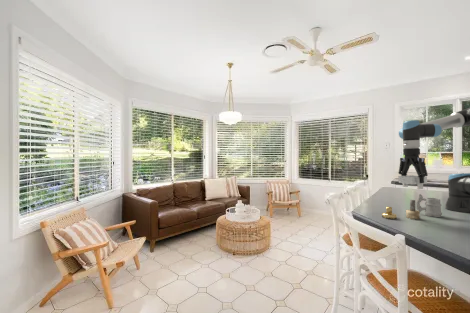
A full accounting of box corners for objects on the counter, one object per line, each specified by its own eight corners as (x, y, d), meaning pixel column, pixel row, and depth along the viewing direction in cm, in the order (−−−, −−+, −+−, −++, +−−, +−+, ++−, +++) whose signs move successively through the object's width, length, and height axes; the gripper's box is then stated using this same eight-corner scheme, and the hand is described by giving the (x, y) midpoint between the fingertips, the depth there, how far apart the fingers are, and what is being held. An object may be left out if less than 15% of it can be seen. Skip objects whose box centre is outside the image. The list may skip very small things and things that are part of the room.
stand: (413, 216, 134) (412, 199, 133) (422, 219, 128) (422, 201, 128) (403, 216, 133) (403, 199, 133) (412, 219, 127) (412, 201, 127)
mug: (441, 218, 129) (441, 196, 129) (415, 214, 137) (414, 194, 137) (442, 215, 134) (442, 194, 134) (417, 212, 143) (416, 192, 142)
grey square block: (412, 182, 135) (412, 175, 135) (427, 183, 126) (426, 176, 126) (398, 182, 134) (398, 175, 134) (411, 184, 125) (411, 177, 125)
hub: (390, 215, 136) (390, 205, 136) (399, 218, 129) (399, 208, 129) (379, 216, 135) (378, 206, 135) (388, 219, 128) (388, 208, 128)
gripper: (390, 148, 141) (391, 185, 141) (423, 147, 119) (424, 190, 119) (401, 148, 141) (402, 185, 141) (436, 147, 120) (437, 190, 120)
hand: (412, 187), depth 130 cm, fingers closed on grey square block, 9 cm apart
